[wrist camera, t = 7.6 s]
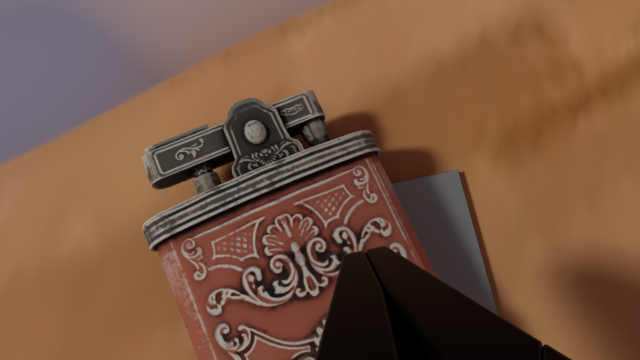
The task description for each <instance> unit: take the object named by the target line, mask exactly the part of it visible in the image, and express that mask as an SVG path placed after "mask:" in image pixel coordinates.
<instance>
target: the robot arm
mask: <svg viewBox="0 0 640 360" xmlns="http://www.w3.org/2000/svg"><path fill="white" fill-rule="evenodd" d="M315 360H571V359H570V358H568V357H566V356H565V355H563V354H562V353H560V352H558V351H557V350H555V349H553V348H552V347H550V346H549V345H543V347H542V343H541V341H539V340H537V339H536V338H534V337H533V336H531V335H529V334H528V333H526V332H524V331H523V330H521V329H520V328H518V327H516V326H515V325H513V324H511V323H510V322H508V321H507V320H505V319H503V318H502V317H500V316H499V315H497V314H495V313H494V312H492V311H490V310H489V309H487V308H486V307H484V306H482V305H481V304H479V303H477V302H476V301H474V300H473V299H471V298H469V297H468V296H466V295H465V294H463V293H461V292H460V291H458V290H456V289H455V288H453V287H452V286H450V285H448V284H447V283H445V282H443V281H442V280H440V279H439V278H437V277H435V276H434V275H432V274H431V273H429V272H427V271H426V270H424V269H422V268H421V267H419V266H418V265H416V264H414V263H413V262H411V261H409V260H408V259H406V258H405V257H403V256H401V255H400V254H398V253H397V252H395V251H393V250H392V249H390V248H388V247H386V246H380V247H376V248H371V249H367V250H366V252H364V251H357V252H352V253H347V254H345V255H344V256H343V258H342V262H341V265H340V269H339V273H338V276H337V280H336V284H335V288H334V291H333V295H332V299H331V302H330V306H329V310H328V313H327V317H326V321H325V325H324V328H323V332H322V336H321V339H320V343H319V347H318V350H317V354H316V358H315Z"/></svg>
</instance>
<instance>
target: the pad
mask: <svg viewBox="0 0 640 360" xmlns="http://www.w3.org/2000/svg"><path fill="white" fill-rule="evenodd" d="M392 186H393V188H394V191H395V193H396V195H397V197H398V199H399V201H400V203H401V205H402V207H403V209H404V211H405V213H406V215H407V217H408V219H409V221H410V223H411V225H412V227H413V229H414V231H415V233H416V235H417V237H418V239H419V241H420V243H421V245H422V247H423V249H424V251H425V253H426V255H427V257H428V259H429V261H430V263H431V265H432V267H433V269H434V271H435V273H436V275H437V277H438V278H439V279H440V280H442V281H443V282H445V283H447V284H448V285H450V286H452V287H453V288H455V289H456V290H458V291H460V292H461V293H463V294H465V295H466V296H468V297H469V298H471V299H473V300H474V301H476V302H477V303H479V304H481V305H482V306H484V307H486V308H487V309H489V310H490V311H492V312H494V313H495V314H497V315H498V313H497V309H496V306H495V302H494V299H493V295H492V291H491V288H490V284H489V281H488V277H487V273H486V270H485V266H484V263H483V259H482V255H481V252H480V248H479V245H478V241H477V237H476V234H475V230H474V227H473V223H472V220H471V216H470V212H469V209H468V205H467V202H466V198H465V194H464V191H463V187H462V184H461V180H460V176H459V173H458V170H455V171H450V172H445V173H440V174H435V175H431V176H426V177H421V178H416V179H411V180H406V181H401V182H396V183H392Z"/></svg>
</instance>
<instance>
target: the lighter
mask: <svg viewBox="0 0 640 360" xmlns="http://www.w3.org/2000/svg"><path fill="white" fill-rule="evenodd" d="M324 120H325V115H324V113H323V111H322V108H321V106H320V104H319V102H318V100H317V98H316V96H315V94H314V92H313V91H312V90H308V91H304V92H301V93H299V94H296V95H293V96H291V97H288V98H286V99H283V100H281V101H278V102H275V103H273V104H270V105H267V104H264V103H263V102H262V101H260V100H258V99H253V98H248V99H245V100H242V101H240V102H237V103H235V104H234V105H233V106H232V107H231V108H230V110H229V113H228V119H227V120H226V122H224V123H222V124H219V125H216V126H214V127H211V128H208V126H207V124H206V125H204V126H201V127H199V128H196V129H193V130H191V131H188V132H186V133H183V134H180V135H178V136H175V137H173V138H170V139H168V140H165V141H162V142H160V143H157V144H155V145H152V146H150V147H148V148H146V149H145V152H146V154H144V155H143V156H142V158H141V159H142V162H143V164H144V167H145V170H146V172H147V175H148V177H149V180H150V183H151V185H152V187H153V188H155V189H165V188H168V187H171V186H174V185H176V184H179V183H181V182H183V181H186V180H188V179H191V178H193V177H195V180H194V185H195V187H196V190H197V192H198V195H196V196H194V197H192V198H190V199H188V200H186V201H183V202H181V203H179V204H177V205H175V206H173V207H171V208H169V209H167V210H164V211H162V212H160V213H159V214H157V215H155V216H153V217H151V218H150V219H149V220H147V221H146V222H145V223H144V225H143V227H142V228H143V231H144V234H145V236H146V239H147V242H148V244H149V247H150V250H152V251H158V253H159V256H160V259H161V261H162V264H163V267H164V269H165V272H166V275H167V277H168V280H169V283H170V285H171V288H172V291H173V293H174V296H175V299H176V301H177V304H178V306H179V309H180V312H181V314H182V317H183V320H184V322H185V325H186V328H187V330H188V333H189V336H190V338H191V341H192V344H193V346H194V349H195V352H196V354H197V357H198V360H315V358H316V354H317V350H318V347H319V343H320V339H321V336H322V332H323V328H324V325H325V321H326V317H327V313H328V310H329V306H330V302H331V299H332V295H333V291H334V288H335V284H336V280H337V276H338V273H339V269H340V265H341V262H342V258H343V256H344V255H345V254H347V253H352V252H357V251H364V252H366V250H367V249H371V248H376V247H380V246H386V247H388V248H390V249H392V250H393V251H395V252H397V253H398V254H400V255H401V256H403V257H405V258H406V259H408V260H409V261H411V262H413V263H414V264H416V265H418V266H419V267H421V268H422V269H424V270H426V271H427V272H429V273H431V274H432V275H434V276H435V277H437V275H436V273H435V271H434V269H433V267H432V265H431V263H430V261H429V259H428V257H427V255H426V253H425V251H424V249H423V247H422V245H421V243H420V241H419V239H418V237H417V235H416V233H415V231H414V229H413V227H412V225H411V223H410V221H409V219H408V217H407V215H406V213H405V211H404V209H403V207H402V205H401V203H400V201H399V199H398V197H397V195H396V193H395V191H394V188H393V186H392V184H391V182H390V180H389V178H388V176H387V174H386V172H385V170H384V168H383V166H382V164H381V162H380V160H379V158H378V156H379V155H380V152H381V150H380V148H379V146H378V144H377V142H376V140H375V138H374V136H373V134H372V132H371V131H369V130H361V131H357V132H353V133H350V134H347V135H345V136H342V137H339V138H336V139H333V140H329V134H328V128H327V125H326V123H325V121H324ZM299 134H301V135H302V138H303V139H304V141H305V142H306V143H307V144H308V145H309V146H310V147H311V148H308V149H305V150H304V148H303V146H302V144H301V143H300V141H299V140H297V139H292V137H294V136H297V135H299ZM233 161H235V162H234V164H233V165H232V167H231V168H232V174H233V176H234V179H232V180H230V181H227V182H225V183H223V184H222V183H221V181H220V179H219V176H218V174H217V173H216V172H213V169H215V168H218V167H220V166H223V165H225V164H228V163H230V162H233ZM437 278H438V277H437Z"/></svg>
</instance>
